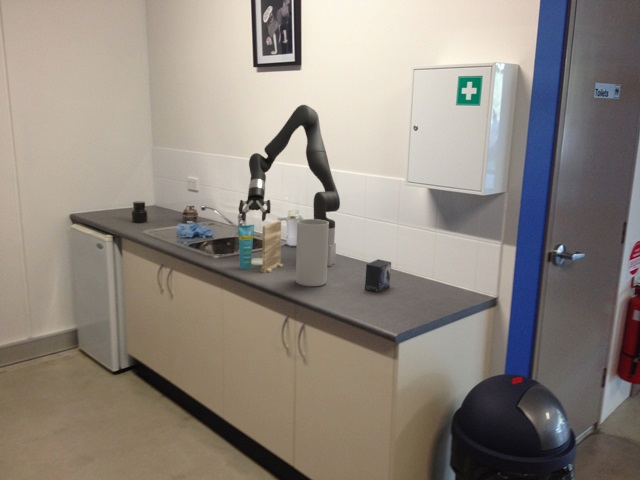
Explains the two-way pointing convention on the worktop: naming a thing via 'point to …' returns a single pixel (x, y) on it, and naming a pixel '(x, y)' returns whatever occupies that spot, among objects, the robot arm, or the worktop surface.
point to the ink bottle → (139, 212)
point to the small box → (377, 275)
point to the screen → (271, 247)
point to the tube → (245, 245)
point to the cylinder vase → (312, 252)
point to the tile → (256, 261)
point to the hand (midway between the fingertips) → (253, 220)
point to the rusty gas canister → (190, 214)
